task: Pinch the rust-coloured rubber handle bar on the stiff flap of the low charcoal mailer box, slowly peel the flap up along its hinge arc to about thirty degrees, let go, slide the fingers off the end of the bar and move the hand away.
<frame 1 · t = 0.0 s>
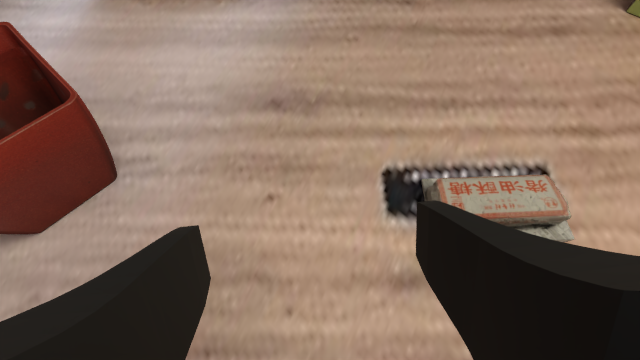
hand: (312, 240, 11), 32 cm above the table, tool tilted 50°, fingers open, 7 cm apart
packaged product: (489, 212, 47), on the table
plant pot: (61, 178, 50), on the table
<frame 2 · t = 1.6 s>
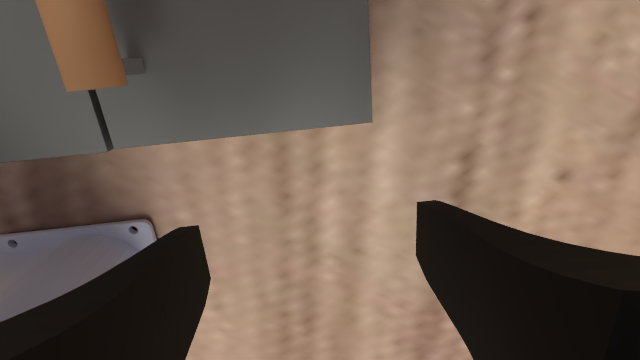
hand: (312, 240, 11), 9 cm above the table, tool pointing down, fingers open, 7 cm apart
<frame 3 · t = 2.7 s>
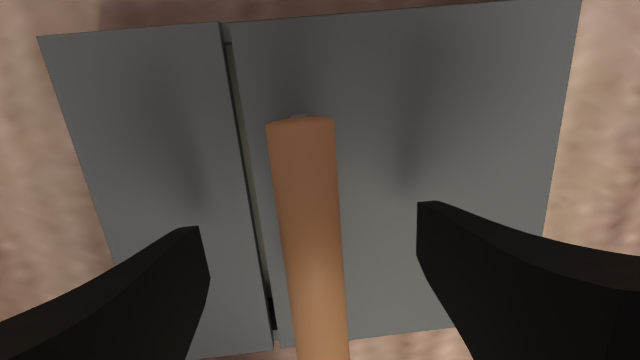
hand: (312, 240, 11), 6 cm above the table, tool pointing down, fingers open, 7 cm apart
charcoal mailer box: (325, 177, 17), on the table
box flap: (424, 220, 12), point 5 cm above the table, hinge at 0.0°
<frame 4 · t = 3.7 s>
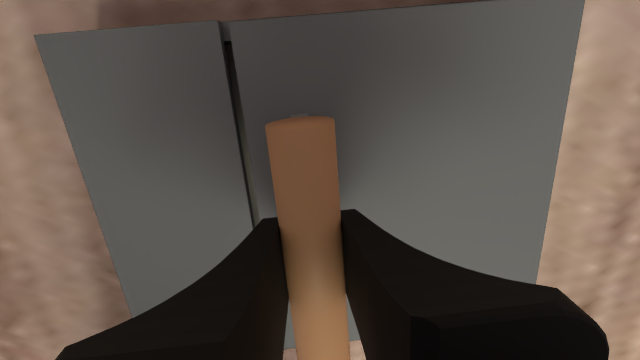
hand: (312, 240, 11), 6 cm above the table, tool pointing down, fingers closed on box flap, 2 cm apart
charcoal mailer box: (325, 177, 17), on the table
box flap: (425, 220, 12), point 5 cm above the table, hinge at 0.0°, touching gripper
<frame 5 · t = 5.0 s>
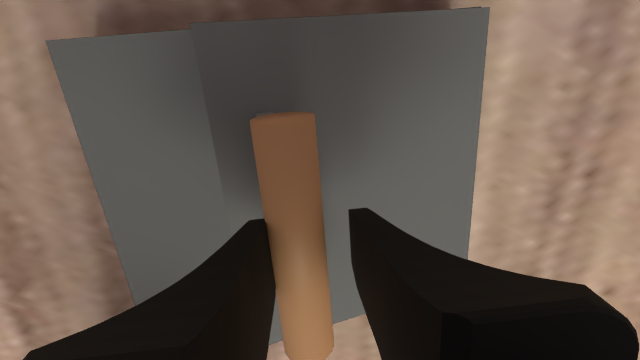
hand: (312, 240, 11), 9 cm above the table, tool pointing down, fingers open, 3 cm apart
charcoal mailer box: (292, 160, 19), on the table
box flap: (385, 202, 13), point 7 cm above the table, hinge at 14.7°, touching gripper
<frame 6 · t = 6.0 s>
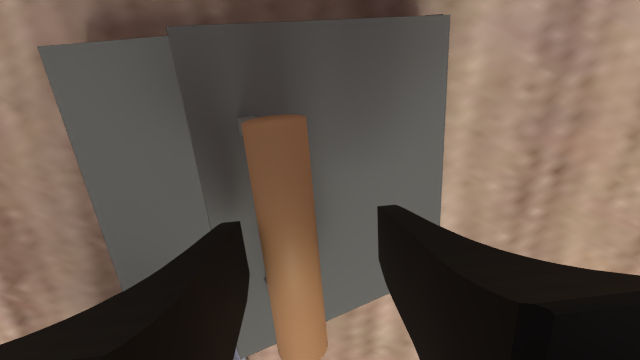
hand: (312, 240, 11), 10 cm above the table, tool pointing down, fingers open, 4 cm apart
charcoal mailer box: (273, 158, 21), on the table
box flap: (367, 200, 14), point 8 cm above the table, hinge at 22.6°
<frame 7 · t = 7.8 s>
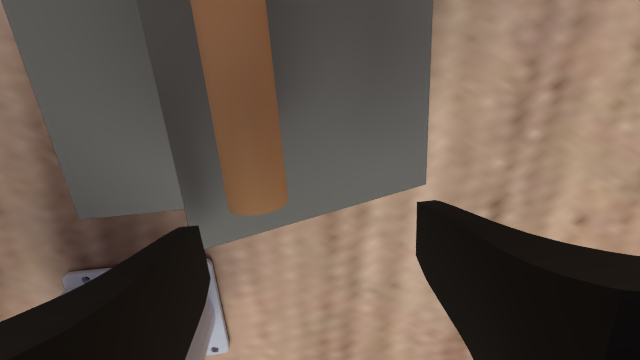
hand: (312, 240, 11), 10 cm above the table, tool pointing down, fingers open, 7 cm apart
charcoal mailer box: (245, 60, 19), on the table
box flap: (340, 52, 12), point 8 cm above the table, hinge at 22.6°
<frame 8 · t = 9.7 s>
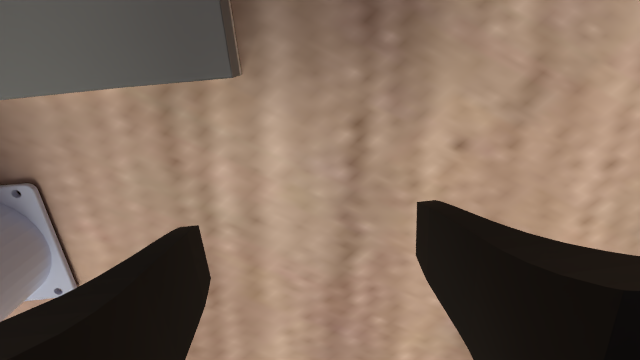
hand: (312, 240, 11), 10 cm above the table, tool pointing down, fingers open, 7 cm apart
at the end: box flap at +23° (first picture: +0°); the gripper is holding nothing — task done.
